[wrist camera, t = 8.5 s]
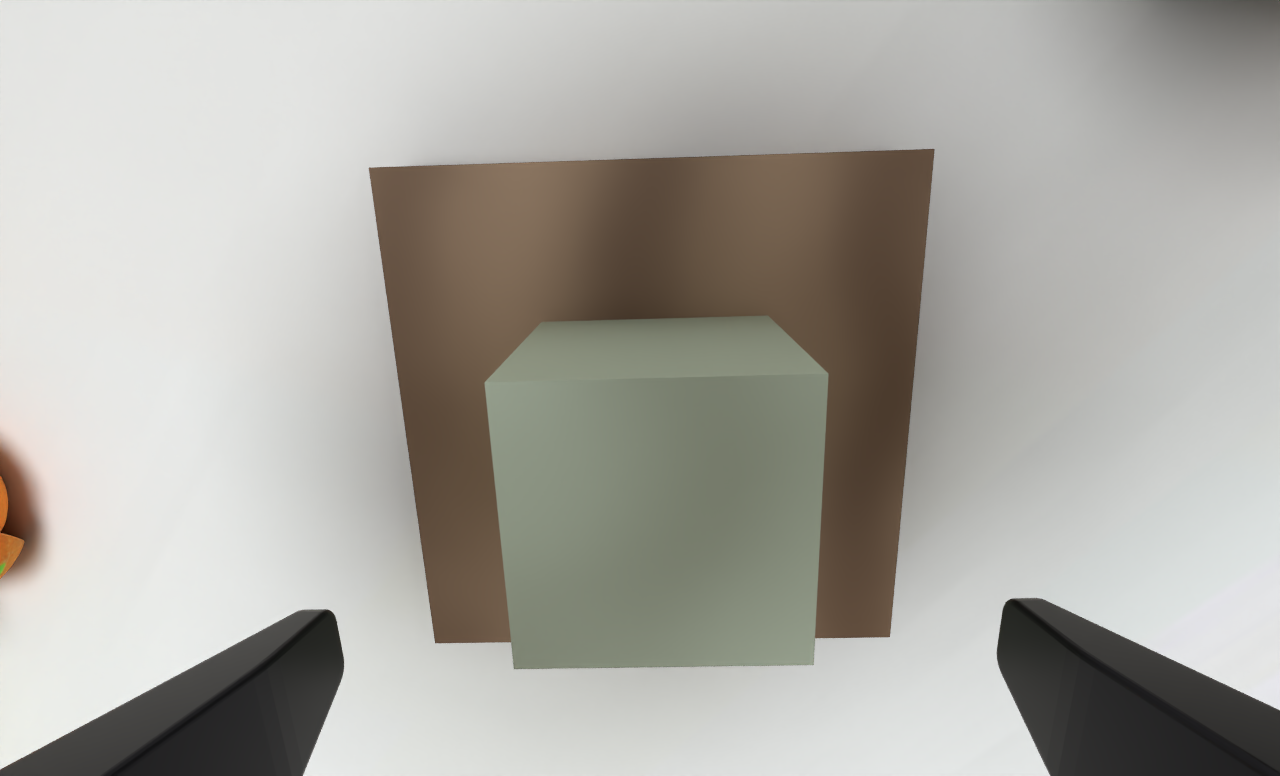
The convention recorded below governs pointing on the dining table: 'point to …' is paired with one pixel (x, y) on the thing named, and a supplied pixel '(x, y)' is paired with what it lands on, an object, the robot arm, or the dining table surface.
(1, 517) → the toy juicer set
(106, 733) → the robot arm
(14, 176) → the dining table surface
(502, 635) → the walnut plinth
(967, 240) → the dining table surface
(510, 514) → the sage block
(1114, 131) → the dining table surface
